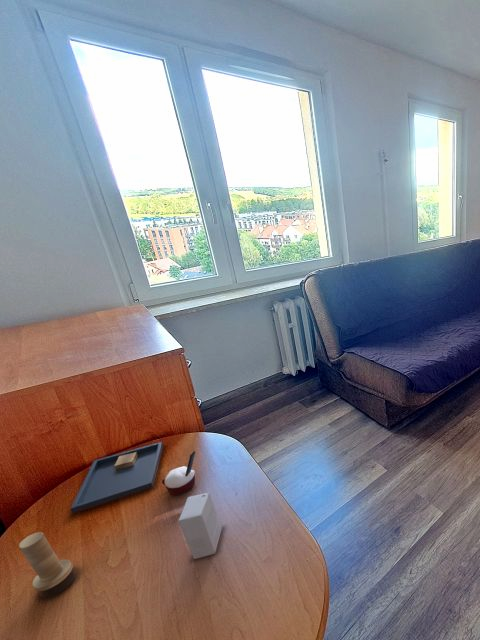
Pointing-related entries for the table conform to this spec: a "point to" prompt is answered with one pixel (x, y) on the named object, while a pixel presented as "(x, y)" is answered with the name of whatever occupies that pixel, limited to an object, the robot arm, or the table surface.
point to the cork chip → (126, 461)
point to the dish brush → (47, 566)
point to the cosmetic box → (200, 525)
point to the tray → (118, 477)
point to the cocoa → (180, 478)
